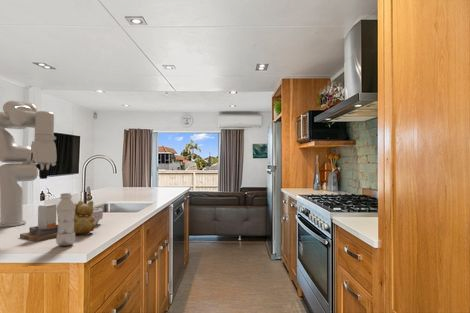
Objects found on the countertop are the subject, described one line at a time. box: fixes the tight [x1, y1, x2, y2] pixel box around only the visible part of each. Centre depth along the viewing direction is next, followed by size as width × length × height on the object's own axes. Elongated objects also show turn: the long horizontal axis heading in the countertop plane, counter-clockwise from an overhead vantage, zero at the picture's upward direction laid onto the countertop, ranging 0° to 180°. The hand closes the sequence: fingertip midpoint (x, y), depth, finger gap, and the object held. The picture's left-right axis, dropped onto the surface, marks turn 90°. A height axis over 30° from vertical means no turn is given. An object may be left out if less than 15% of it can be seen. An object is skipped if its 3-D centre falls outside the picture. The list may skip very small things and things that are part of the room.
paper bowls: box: [74, 207, 104, 226], centre depth 162 cm, size 15×15×8 cm
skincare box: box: [37, 203, 57, 229], centre depth 139 cm, size 6×4×12 cm
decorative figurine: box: [74, 200, 96, 236], centre depth 141 cm, size 10×8×15 cm
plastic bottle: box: [55, 192, 76, 247], centre depth 123 cm, size 6×7×20 cm
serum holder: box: [19, 223, 58, 242], centre depth 139 cm, size 14×15×4 cm
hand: (43, 178), depth 145 cm, fingers closed
